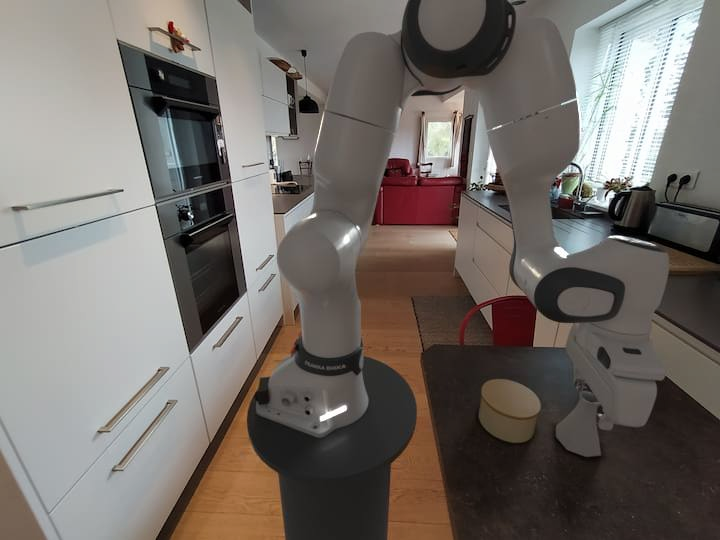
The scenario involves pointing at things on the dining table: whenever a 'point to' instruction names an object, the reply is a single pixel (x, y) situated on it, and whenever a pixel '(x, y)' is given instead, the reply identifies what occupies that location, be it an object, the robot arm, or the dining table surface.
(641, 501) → the dining table surface
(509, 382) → the tea tin
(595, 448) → the flask
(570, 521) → the dining table surface
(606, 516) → the dining table surface
